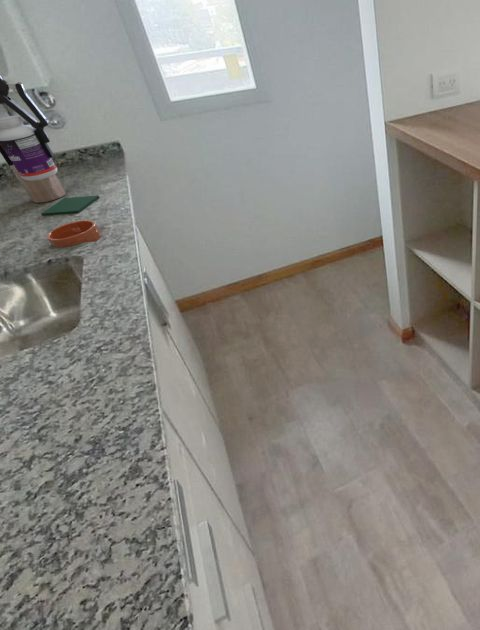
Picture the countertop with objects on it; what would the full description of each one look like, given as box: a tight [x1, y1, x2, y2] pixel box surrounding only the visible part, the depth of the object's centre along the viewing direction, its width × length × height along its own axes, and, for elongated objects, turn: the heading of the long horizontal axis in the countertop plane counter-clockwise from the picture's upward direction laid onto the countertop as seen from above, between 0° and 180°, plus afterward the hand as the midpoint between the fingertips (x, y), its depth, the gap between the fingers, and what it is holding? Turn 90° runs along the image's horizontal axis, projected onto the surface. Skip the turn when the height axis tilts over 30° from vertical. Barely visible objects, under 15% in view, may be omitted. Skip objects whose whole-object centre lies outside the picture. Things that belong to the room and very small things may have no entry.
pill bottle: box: [0, 115, 58, 181], centre depth 112 cm, size 8×8×14 cm
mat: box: [40, 195, 100, 217], centre depth 144 cm, size 12×12×1 cm
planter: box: [9, 165, 67, 204], centre depth 145 cm, size 10×10×23 cm
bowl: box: [46, 219, 102, 248], centre depth 122 cm, size 12×12×4 cm
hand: (31, 159), depth 114 cm, fingers closed on pill bottle, 8 cm apart
